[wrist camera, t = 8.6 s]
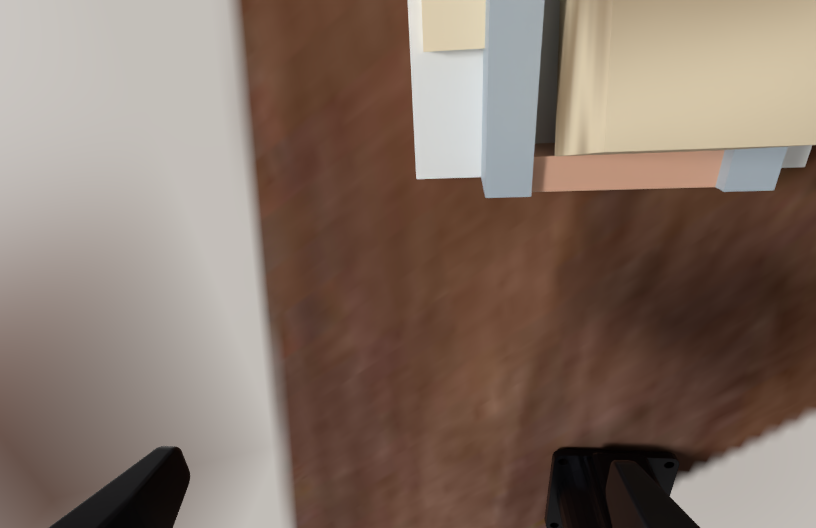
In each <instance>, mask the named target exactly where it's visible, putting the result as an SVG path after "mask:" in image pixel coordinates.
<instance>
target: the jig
mask: <svg viewBox="0 0 816 528" xmlns="http://www.w3.org/2000/svg"><path fill="white" fill-rule="evenodd" d="M408 17H409V38H410V58H411V78H412V99H413V119H414V140H415V160H416V179H435V178H467V177H481V179H482V184H483V189H484V193H485V198H501V197H531V192H549V191H586V190H623V189H660V188H696V187H716V188H718V189H720V190H721V191H723V192H730V191H768V190H774V189H775V186H776V183H777V180H778V176H779V173H780V170H781V168H792V167H805V165H806V162H807V159H808V156H809V154H810V151H811V148H812V145H806V146H788V147H770V148H752V149H734V150H716V151H697V152H668V153H639V154H610V155H581V156H555V131H556V102H557V74H558V45H559V17H560V0H408Z"/></svg>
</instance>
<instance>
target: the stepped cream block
mask: <svg viewBox="0 0 816 528" xmlns="http://www.w3.org/2000/svg"><path fill="white" fill-rule="evenodd" d="M806 145H816V0H560V17H559V45H558V74H557V102H556V131H555V156H581V155H610V154H639V153H668V152H697V151H716V150H734V149H752V148H770V147H788V146H806Z"/></svg>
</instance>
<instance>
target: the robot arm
mask: <svg viewBox="0 0 816 528" xmlns="http://www.w3.org/2000/svg"><path fill="white" fill-rule="evenodd" d="M563 458H564V459H563ZM678 467H679V462H678V460H677V458H676V456H675V455H674V454H672V453H668V452H636V451H602V450H568V449H561V450H557V451H555V452H554V453H553V456H552V464H551V472H550V480H549V488H548V496H547V504H546V512H545V523H546V527H547V528H700V527H699V526H698V525H697V524H696V523H695V522H694V521H693V520H692V519H691V518H690V517H689V516H688V515H687V514H686V513H685V512H684V511H683V510H682V509H681V508H680V507H679V506H678V505H677V504H676V503H675V502H674V501H673V500H672V499H671V498H670V493H671V490H672V487H673V484H674V480H675V477H676V474H677V471H678ZM189 481H190V472H189V469H188V466H187V464H186V461H185V459H184V456H183V454H182V451H181V449H180V448H178V447H171V446H170V447H169V446H161V447H158V448H156V449H155V450H153V451H152V452H151V453H150V454H148V455H147V456H146V457H144V458H143V459H141V460H140V461H139V462H137V463H136V464H134V465H133V466H132V467H130V468H129V469H128V470H126V471H125V472H124V473H122V474H121V475H120V476H118V477H117V478H115V479H114V480H113V481H111V482H110V483H109V484H107V485H106V486H105V487H103V488H102V489H101V490H99V491H98V492H96V493H95V494H94V495H92V496H91V497H90V498H88V499H87V500H86V501H84V502H83V503H81V504H80V505H79V506H78V507H76V508H75V509H73V510H72V511H71V512H69V513H68V514H67V515H65V516H64V517H62V518H61V519H60V520H59V521H57V522H56V523H54V524H53V525H52V526H50V527H49V528H173V525H174V523H175V520H176V517H177V515H178V512H179V509H180V506H181V504H182V501H183V498H184V496H185V493H186V490H187V487H188V484H189Z"/></svg>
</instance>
